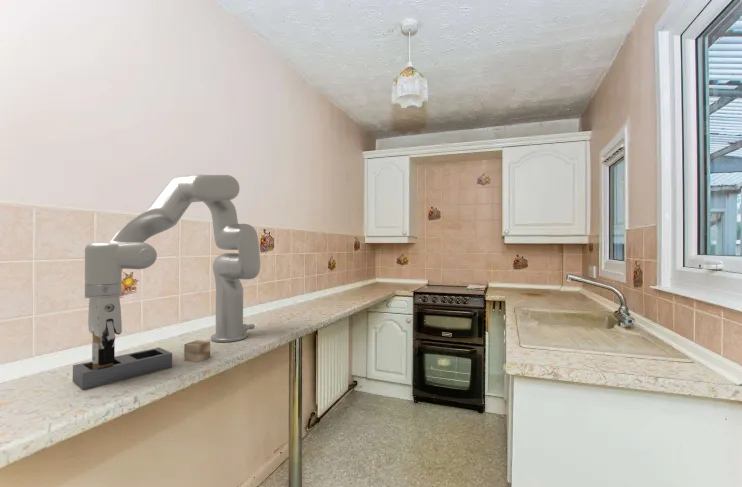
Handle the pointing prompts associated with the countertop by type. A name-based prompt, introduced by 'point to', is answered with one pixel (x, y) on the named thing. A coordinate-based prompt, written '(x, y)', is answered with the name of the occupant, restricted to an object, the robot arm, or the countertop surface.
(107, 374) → the grey compartment tray
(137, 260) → the robot arm
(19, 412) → the countertop surface
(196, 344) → the block
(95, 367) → the sprinkles bottle
